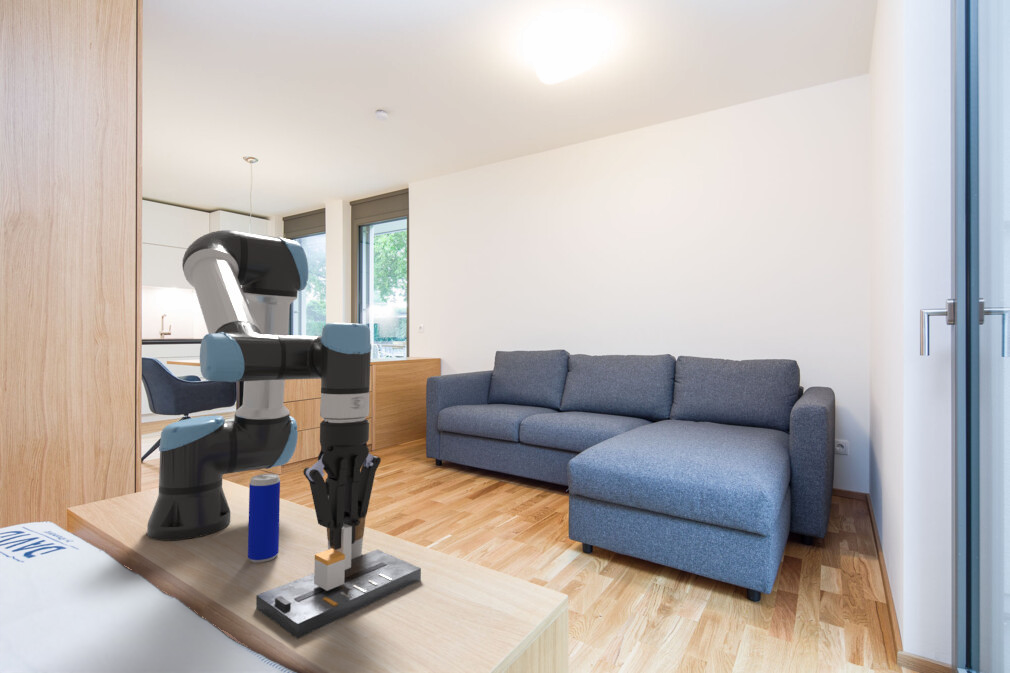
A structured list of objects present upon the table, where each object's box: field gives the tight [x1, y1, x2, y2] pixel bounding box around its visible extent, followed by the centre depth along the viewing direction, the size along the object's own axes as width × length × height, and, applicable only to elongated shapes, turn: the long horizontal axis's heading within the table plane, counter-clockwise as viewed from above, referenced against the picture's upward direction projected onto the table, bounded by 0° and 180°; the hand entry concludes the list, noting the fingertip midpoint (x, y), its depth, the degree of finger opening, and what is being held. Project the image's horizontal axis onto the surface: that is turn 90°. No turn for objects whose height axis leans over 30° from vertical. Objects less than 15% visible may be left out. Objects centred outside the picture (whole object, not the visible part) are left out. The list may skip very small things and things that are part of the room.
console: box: [255, 549, 422, 640], centre depth 79 cm, size 12×22×3 cm, turn 141°
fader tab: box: [314, 549, 345, 591], centre depth 77 cm, size 4×3×4 cm
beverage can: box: [247, 473, 281, 564], centre depth 92 cm, size 5×5×15 cm
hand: (342, 566), depth 78 cm, fingers closed
